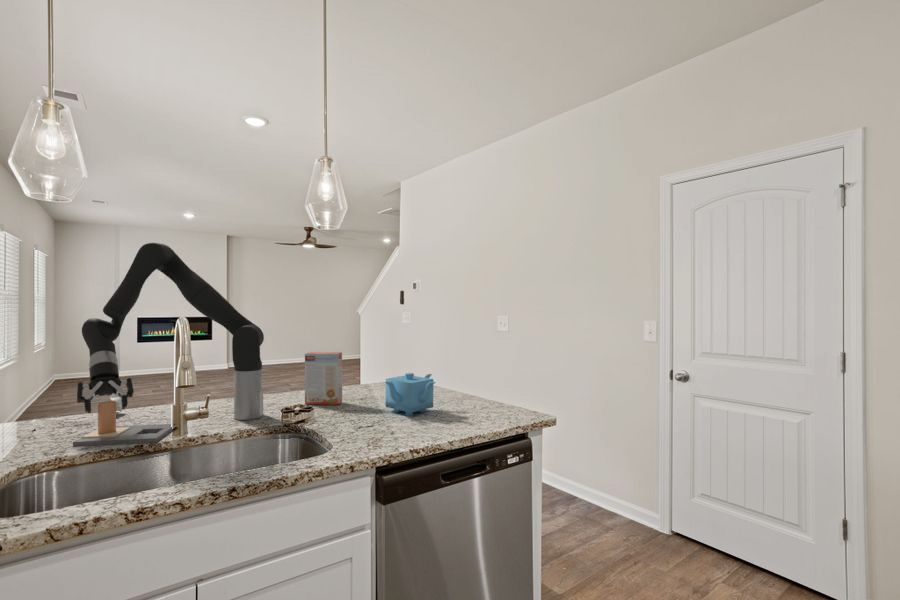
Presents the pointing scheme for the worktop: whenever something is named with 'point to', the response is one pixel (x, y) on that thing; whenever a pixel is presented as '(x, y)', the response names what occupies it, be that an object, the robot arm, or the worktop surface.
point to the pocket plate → (126, 435)
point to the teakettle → (409, 393)
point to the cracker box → (323, 378)
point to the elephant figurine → (114, 398)
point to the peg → (106, 417)
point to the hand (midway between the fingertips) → (107, 409)
